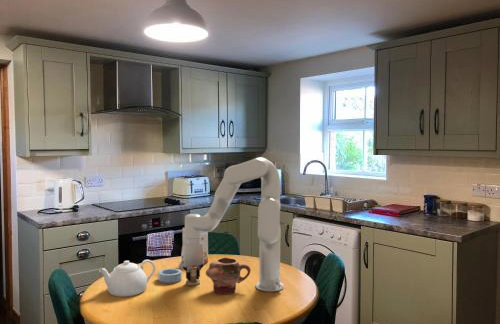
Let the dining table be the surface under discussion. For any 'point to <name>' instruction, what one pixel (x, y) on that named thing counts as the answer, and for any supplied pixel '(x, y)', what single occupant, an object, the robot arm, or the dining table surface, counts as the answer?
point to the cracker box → (204, 242)
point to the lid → (193, 278)
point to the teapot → (127, 279)
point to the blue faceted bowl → (170, 276)
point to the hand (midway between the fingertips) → (192, 278)
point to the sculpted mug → (226, 274)
